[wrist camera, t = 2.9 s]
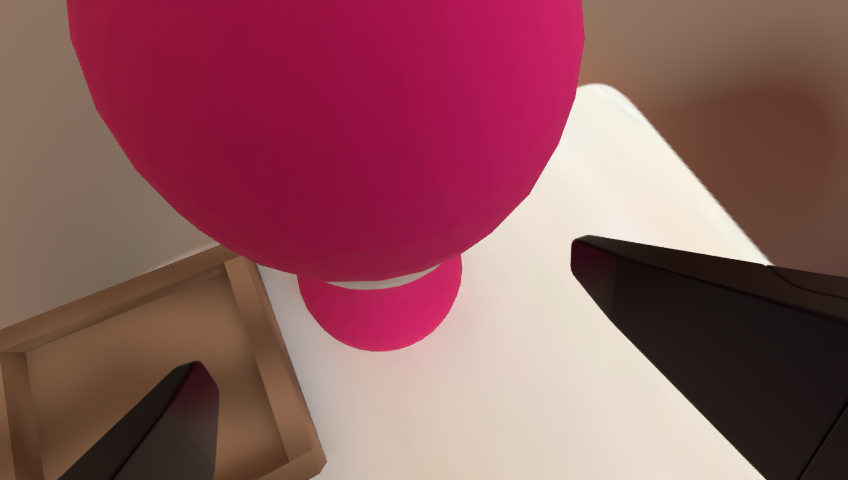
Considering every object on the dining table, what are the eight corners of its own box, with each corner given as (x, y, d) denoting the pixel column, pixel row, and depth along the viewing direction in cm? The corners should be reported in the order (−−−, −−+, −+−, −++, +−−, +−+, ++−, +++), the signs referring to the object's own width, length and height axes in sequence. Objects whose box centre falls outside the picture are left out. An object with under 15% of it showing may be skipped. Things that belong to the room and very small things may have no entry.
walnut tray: (326, 461, 17) (319, 473, 15) (50, 614, 14) (4, 649, 13) (251, 248, 20) (237, 238, 18) (12, 342, 17) (-29, 341, 16)
